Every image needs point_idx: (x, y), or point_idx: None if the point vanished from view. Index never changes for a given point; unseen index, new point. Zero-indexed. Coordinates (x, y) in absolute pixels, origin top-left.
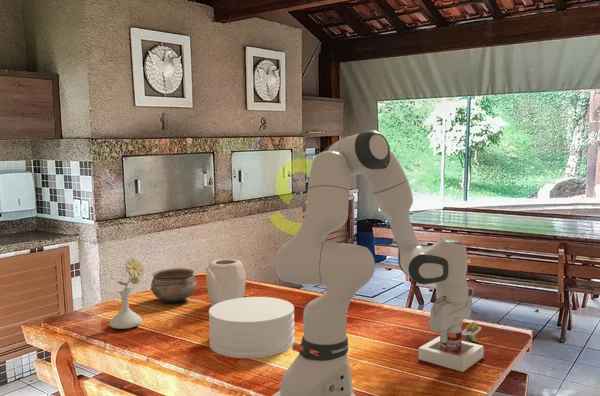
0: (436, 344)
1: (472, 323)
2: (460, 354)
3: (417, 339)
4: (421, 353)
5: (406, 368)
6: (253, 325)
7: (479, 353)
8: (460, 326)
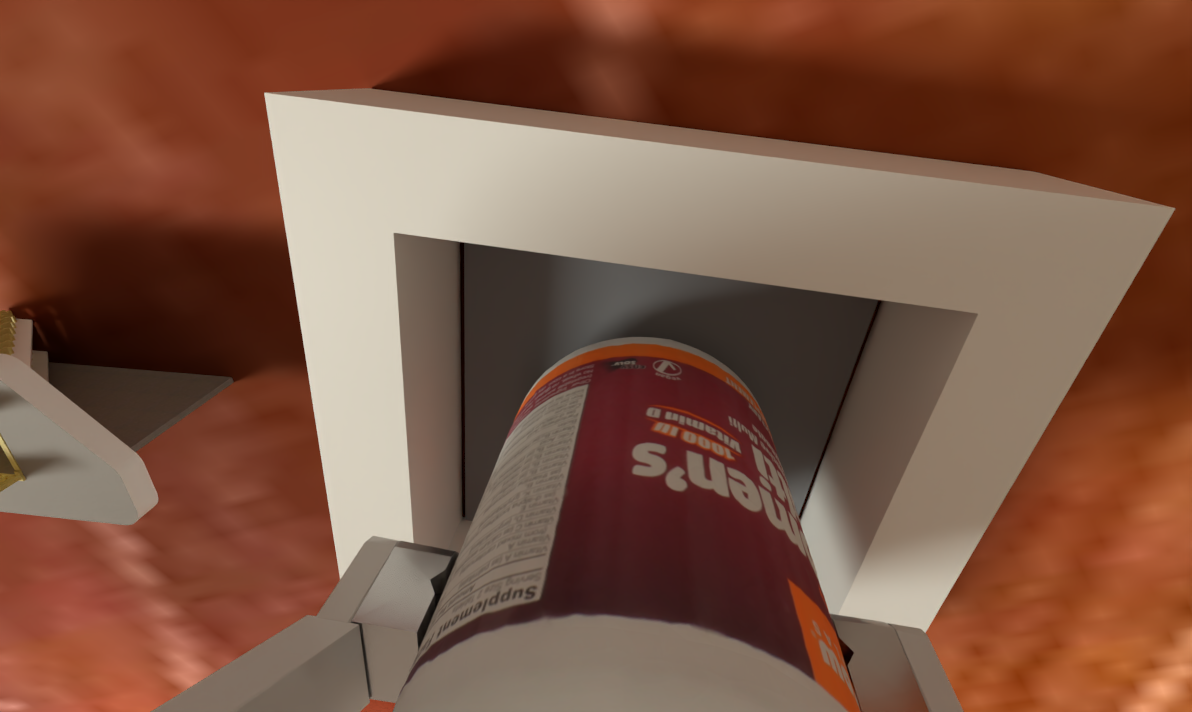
0: None
1: None
2: (651, 339)
3: None
4: None
5: (1101, 650)
6: None
7: (470, 109)
8: (281, 680)
